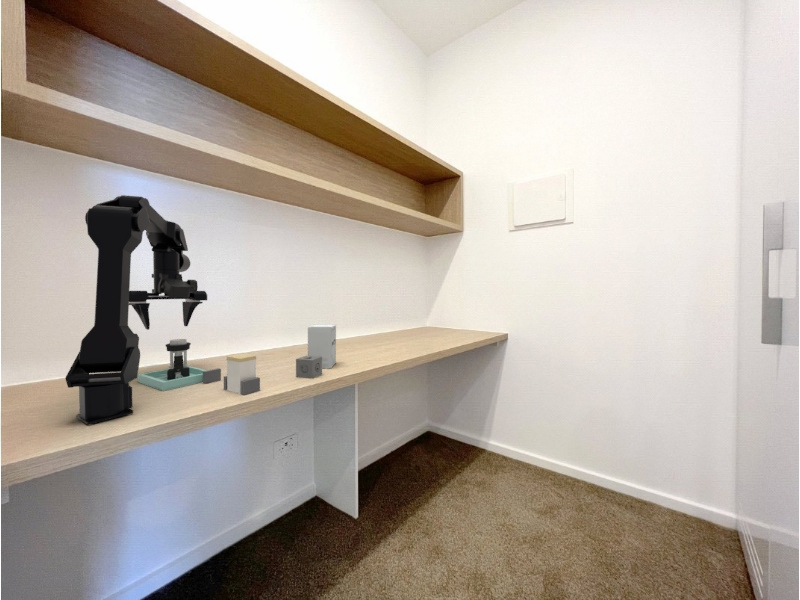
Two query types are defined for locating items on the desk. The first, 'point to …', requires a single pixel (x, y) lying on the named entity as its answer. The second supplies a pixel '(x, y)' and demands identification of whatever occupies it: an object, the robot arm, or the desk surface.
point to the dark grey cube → (308, 366)
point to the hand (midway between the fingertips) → (167, 327)
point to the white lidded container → (239, 370)
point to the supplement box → (323, 344)
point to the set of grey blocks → (215, 375)
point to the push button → (178, 359)
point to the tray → (164, 384)
